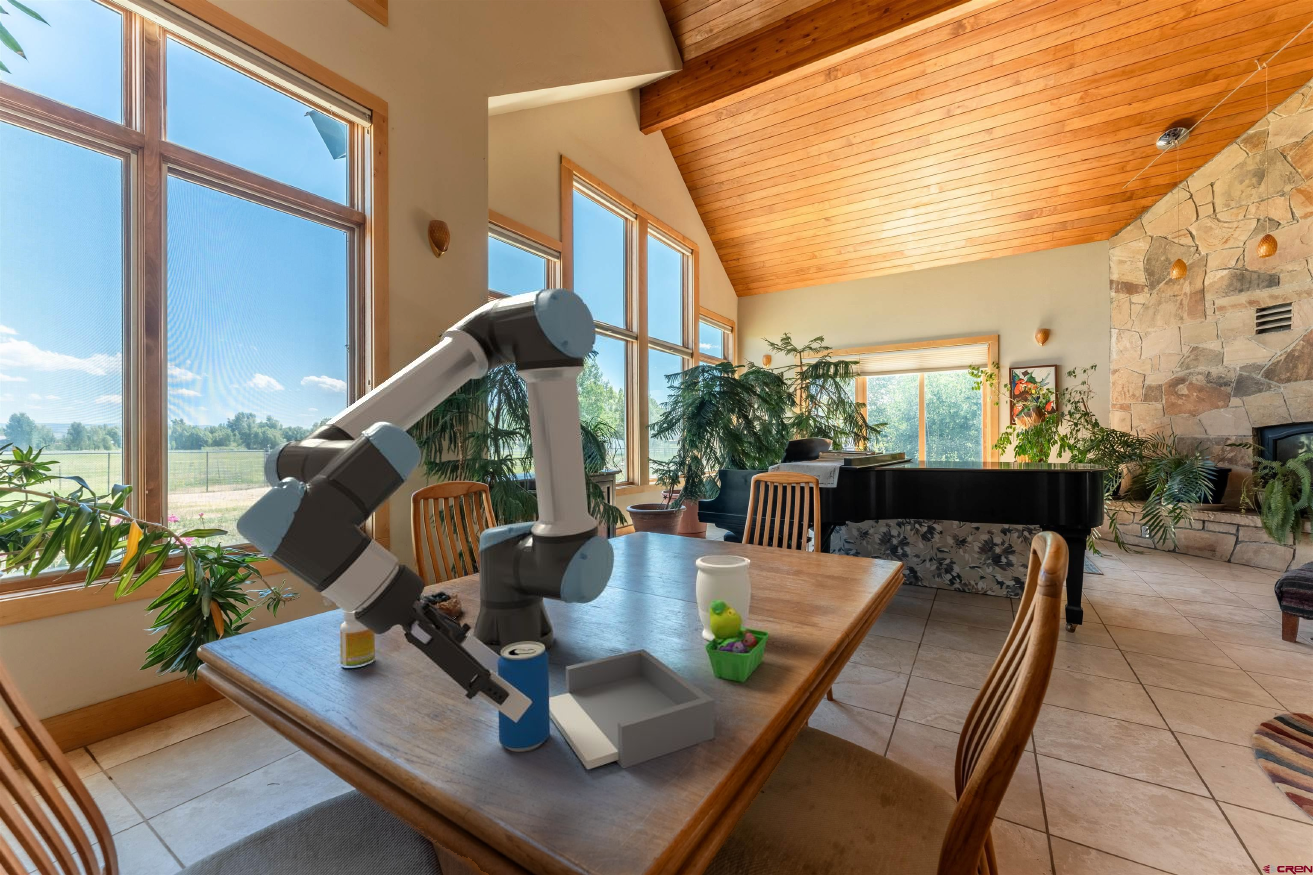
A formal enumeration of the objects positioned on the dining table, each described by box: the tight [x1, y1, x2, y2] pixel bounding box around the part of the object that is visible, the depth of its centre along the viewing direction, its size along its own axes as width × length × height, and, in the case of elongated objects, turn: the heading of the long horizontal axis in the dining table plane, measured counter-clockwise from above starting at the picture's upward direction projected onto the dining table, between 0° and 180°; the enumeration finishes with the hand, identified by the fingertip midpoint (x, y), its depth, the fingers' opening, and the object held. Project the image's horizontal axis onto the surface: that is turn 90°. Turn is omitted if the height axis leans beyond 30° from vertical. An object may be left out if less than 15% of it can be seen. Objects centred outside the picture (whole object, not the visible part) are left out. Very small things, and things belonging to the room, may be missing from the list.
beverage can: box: [497, 641, 551, 753], centre depth 72 cm, size 6×6×12 cm
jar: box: [695, 554, 752, 642], centre depth 108 cm, size 11×10×15 cm
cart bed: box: [549, 648, 715, 770], centre depth 77 cm, size 20×17×5 cm
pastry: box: [420, 590, 462, 619], centre depth 123 cm, size 11×12×6 cm
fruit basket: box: [705, 600, 770, 683], centre depth 93 cm, size 11×9×11 cm
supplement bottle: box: [339, 610, 376, 666], centre depth 98 cm, size 5×5×10 cm
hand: (509, 688), depth 71 cm, fingers open, 13 cm apart
